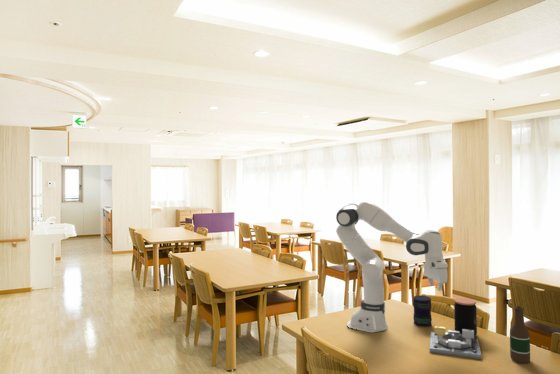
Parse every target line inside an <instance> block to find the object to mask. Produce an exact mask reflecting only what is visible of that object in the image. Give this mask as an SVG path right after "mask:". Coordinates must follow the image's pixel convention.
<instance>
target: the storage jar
mask: <svg viewBox="0 0 560 374" xmlns="http://www.w3.org/2000/svg"><path fill="white" fill-rule="evenodd" d="M412 297H413V298H412V301H413V302H412V304H413V305H412V307H413V324H414V325H415V326H417V327H421V328H427V327H432V319H433V318H432V298H431V297H430V296H427V295H415V296H412Z"/></svg>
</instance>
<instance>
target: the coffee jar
mask: <svg viewBox="0 0 560 374" xmlns="http://www.w3.org/2000/svg"><path fill="white" fill-rule="evenodd" d="M453 302H454V303H453V304H454V305H453V313H454V317H453V318H454V319H453V320H454V331H459V332H460V334H462V329H465V330H474V337H477V335H478V328H477V327H478V325H477V323H478V322H477V318H478V316H477V305H476V304H477V301H476V300H475V299H472V298H467V297H456V298H453Z"/></svg>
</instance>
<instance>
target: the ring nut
mask: <svg viewBox="0 0 560 374" xmlns="http://www.w3.org/2000/svg"><path fill="white" fill-rule="evenodd" d="M446 330H447V329H446V327H444V326H436V325H435V326H434V332H435V334H437V335H438V343H440V344H442V345H444V346H446V347H447V346H448V347H451V348H459V349H461V348H462V349H463V348H468V347H471V339H474V330H465V329H462V334H460V332H459V331H455V330H454V329H452V330H451V329H448V330H447V331H446ZM450 333H456V334H458V339H460V340H463V342H461V341H460V340H452V339H448V340H446V339H445V338H450Z"/></svg>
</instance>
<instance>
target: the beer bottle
mask: <svg viewBox="0 0 560 374" xmlns="http://www.w3.org/2000/svg"><path fill="white" fill-rule="evenodd" d="M513 309H514V319H513V320H514V321H513V324H512V326H511V327H510V329H509V354H510V355H509V357H510V359H511V360H512V361H513V362H515V363H518V364H525V365H526V364H529V363H531V338H530V332H529V329H528V328H527V327H526V325H525V319H524V316H525V315H524V307H523V306H519V305H516V306H514V308H513Z"/></svg>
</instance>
